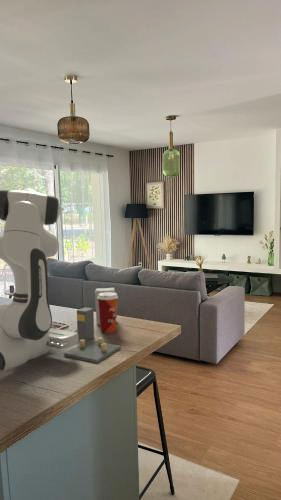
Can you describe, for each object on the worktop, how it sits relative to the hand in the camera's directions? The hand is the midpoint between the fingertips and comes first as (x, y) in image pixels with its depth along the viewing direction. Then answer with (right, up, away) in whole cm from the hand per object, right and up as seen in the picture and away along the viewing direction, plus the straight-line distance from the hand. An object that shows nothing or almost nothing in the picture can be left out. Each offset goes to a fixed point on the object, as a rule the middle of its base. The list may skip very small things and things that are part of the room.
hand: (64, 329), depth 127 cm
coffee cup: (+13, -5, +19) cm, 24 cm away
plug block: (+6, -6, +11) cm, 14 cm away
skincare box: (+11, -4, +31) cm, 33 cm away
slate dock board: (+10, -7, -4) cm, 13 cm away
